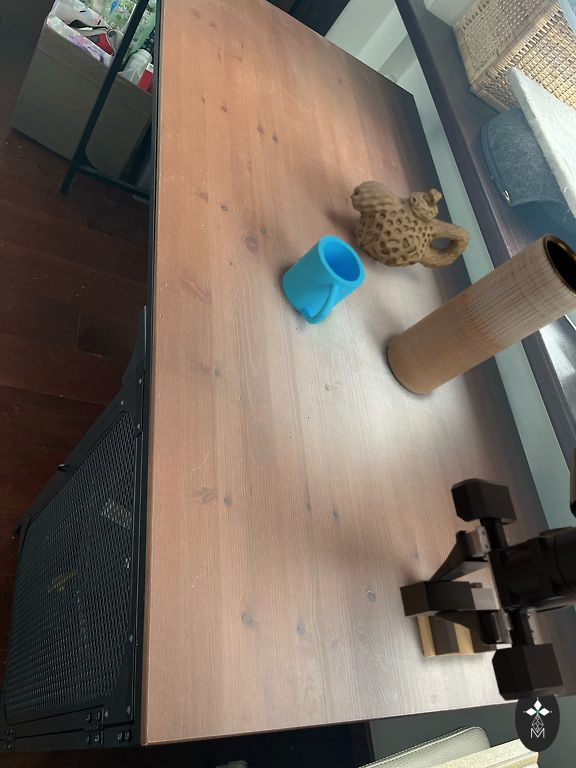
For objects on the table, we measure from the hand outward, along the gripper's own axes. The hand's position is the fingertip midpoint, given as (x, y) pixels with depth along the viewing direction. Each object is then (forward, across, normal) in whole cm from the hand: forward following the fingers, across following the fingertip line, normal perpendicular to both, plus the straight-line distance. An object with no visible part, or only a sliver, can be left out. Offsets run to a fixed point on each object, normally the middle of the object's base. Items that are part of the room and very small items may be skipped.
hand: (434, 599), depth 62 cm
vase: (+11, +36, -18) cm, 42 cm away
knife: (+1, 0, -4) cm, 4 cm away
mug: (+11, +42, +2) cm, 44 cm away
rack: (+10, -1, -14) cm, 17 cm away
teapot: (+11, +58, -16) cm, 62 cm away
